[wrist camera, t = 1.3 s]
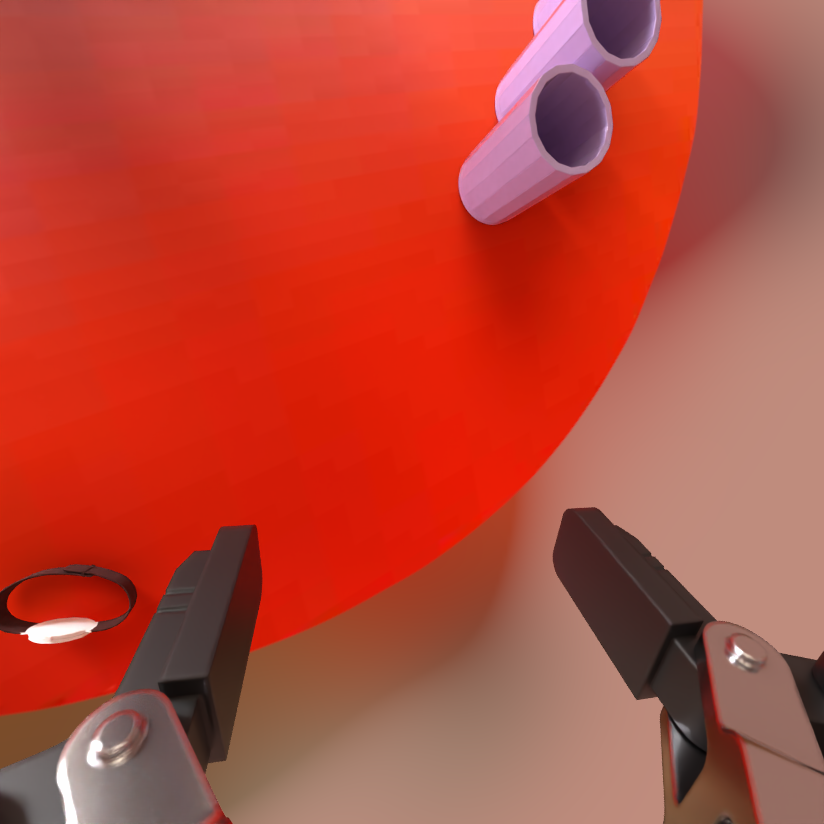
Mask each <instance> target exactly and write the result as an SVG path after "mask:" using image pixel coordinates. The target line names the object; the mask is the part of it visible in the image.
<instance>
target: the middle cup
mask: <svg viewBox="0 0 824 824" xmlns="http://www.w3.org/2000/svg"><path fill="white" fill-rule="evenodd" d="M661 19H662V18H661V7H660V0H562V2H561V3H560V4H559V5H558V7H557V8H556V9H555V11H554V12H553V13H552V14H551V16H550V17H549V18H548V20H547V21H546V22H545V23H544V25H543V26H542V27H541V29H540V30H539V31H538V32H537V34H536V35H535V36H534V38H533V39H532V40H531V41H530V43H529V44H528V45H527V47H526V48H525V49H524V50H523V52H522V53H521V54H520V56H519V57H518V58H517V59H516V61H515V62H514V63H513V65H512V66H511V67H510V68H509V70H508V71H507V73H506V75H505V76H504V77H503V78H502V80H501V81H500V83H499V85H498V88H497V91H496V96H495V110H496V115H497V119H498V122H500V120H501V119H502V118H503V117H504V116H505V115H506V114H507V113H508V112H509V111H510V109H511V108H512V107H513V106H514V105H515V104H516V103H517V102H518V101H519V100H520V99H521V97H522V96H523V95H524V94H525V93H526V92H527V91H528V90H529V89H530V88H531V86H532V85H533V84H534V83H535V82H536V81H537V80H538V79H539V78H540V77H541V76H542V75H543V74H544V73H546V72H547V71H548V70H550V69H551V68H553V67H554V66H556V65H565V64H575V65H577V66H579V67H581V68H583V69H586V70H588V71H589V72H591V74H592V75H593V76H594V77H595V78H596V79H597V80H598V81H599V82H600V84H601V85H602V86H603V88H604V90H605V92H606V91H608V90H609V89H610V88H611V87H612V86H614V85H615V84H616V83H617V82H618V81H620V80H621V79H622V78H623V77H625V76H626V75H627V74H628V73H629V72H631V71H632V70H633V69H634V68H636V67H637V66H638V65H639V64H640V63H642V62H643V61H644V60H645V59H646V58H648V56H649V55H650V53H651V51H652V50H653V48H654V46H655V44H656V42H657V40H658V36H659V31H660V26H661Z"/></svg>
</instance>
